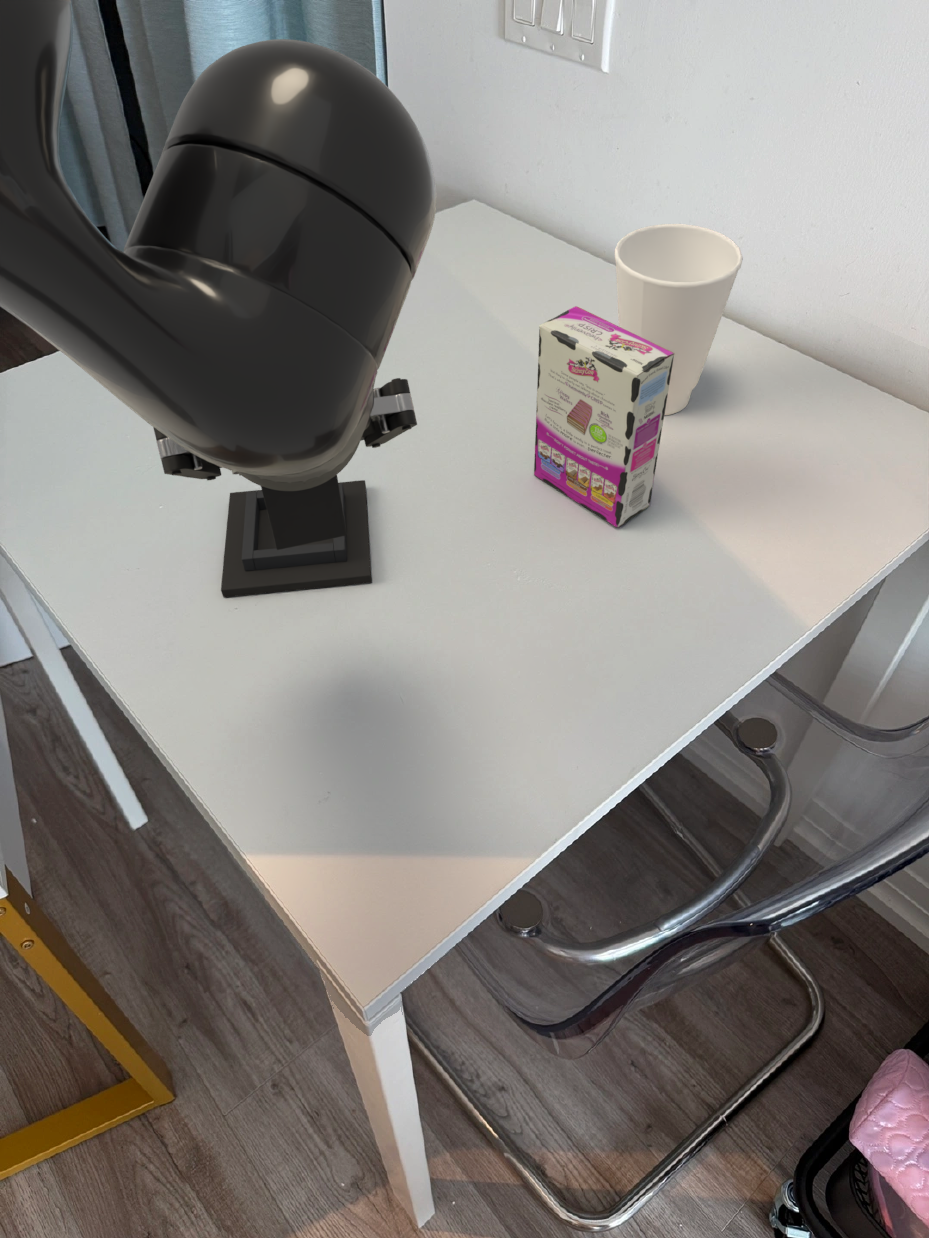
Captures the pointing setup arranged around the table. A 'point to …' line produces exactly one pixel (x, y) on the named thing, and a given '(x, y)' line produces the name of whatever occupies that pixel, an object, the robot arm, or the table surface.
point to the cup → (676, 295)
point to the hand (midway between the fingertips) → (290, 452)
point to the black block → (305, 514)
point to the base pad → (293, 549)
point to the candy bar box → (599, 413)
